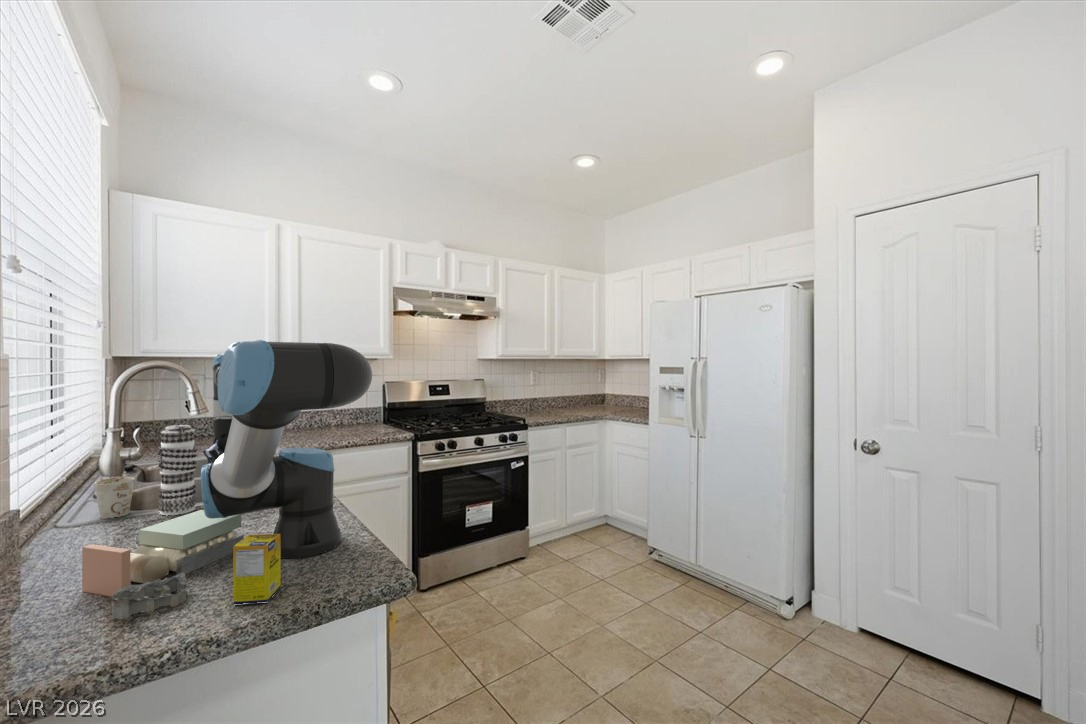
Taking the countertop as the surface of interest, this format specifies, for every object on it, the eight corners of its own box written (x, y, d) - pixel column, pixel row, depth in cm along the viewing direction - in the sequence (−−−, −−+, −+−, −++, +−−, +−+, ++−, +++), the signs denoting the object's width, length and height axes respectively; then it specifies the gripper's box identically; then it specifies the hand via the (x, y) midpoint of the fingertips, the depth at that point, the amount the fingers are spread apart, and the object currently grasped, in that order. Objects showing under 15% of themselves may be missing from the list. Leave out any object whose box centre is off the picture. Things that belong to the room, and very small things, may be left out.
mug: (100, 522, 128) (100, 485, 128) (85, 514, 135) (85, 479, 135) (139, 514, 135) (139, 479, 135) (122, 506, 142) (122, 473, 142)
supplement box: (281, 588, 92) (281, 532, 92) (267, 604, 86) (268, 544, 86) (248, 590, 91) (248, 534, 91) (232, 606, 85) (232, 546, 85)
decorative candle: (153, 511, 137) (154, 425, 137) (192, 504, 144) (192, 422, 144) (161, 518, 131) (161, 429, 131) (200, 510, 139) (201, 425, 138)
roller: (164, 582, 96) (171, 555, 97) (139, 586, 91) (147, 558, 92) (130, 576, 98) (138, 551, 99) (104, 580, 93) (112, 553, 95)
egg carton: (107, 625, 79) (107, 601, 79) (113, 606, 85) (113, 584, 85) (187, 605, 86) (187, 582, 86) (187, 589, 92) (187, 568, 92)
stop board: (130, 594, 89) (130, 549, 89) (121, 598, 88) (121, 552, 88) (91, 587, 92) (91, 544, 92) (82, 591, 90) (82, 547, 90)
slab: (241, 526, 111) (241, 514, 111) (182, 549, 98) (182, 535, 98) (200, 522, 114) (201, 509, 114) (139, 543, 101) (139, 529, 101)
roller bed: (243, 548, 111) (243, 526, 111) (178, 577, 96) (178, 552, 96) (198, 542, 115) (198, 521, 115) (128, 569, 100) (128, 545, 100)
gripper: (219, 420, 108) (218, 523, 108) (266, 414, 121) (265, 506, 121) (193, 419, 110) (193, 519, 110) (242, 413, 123) (242, 503, 123)
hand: (231, 512), depth 116 cm, fingers closed
